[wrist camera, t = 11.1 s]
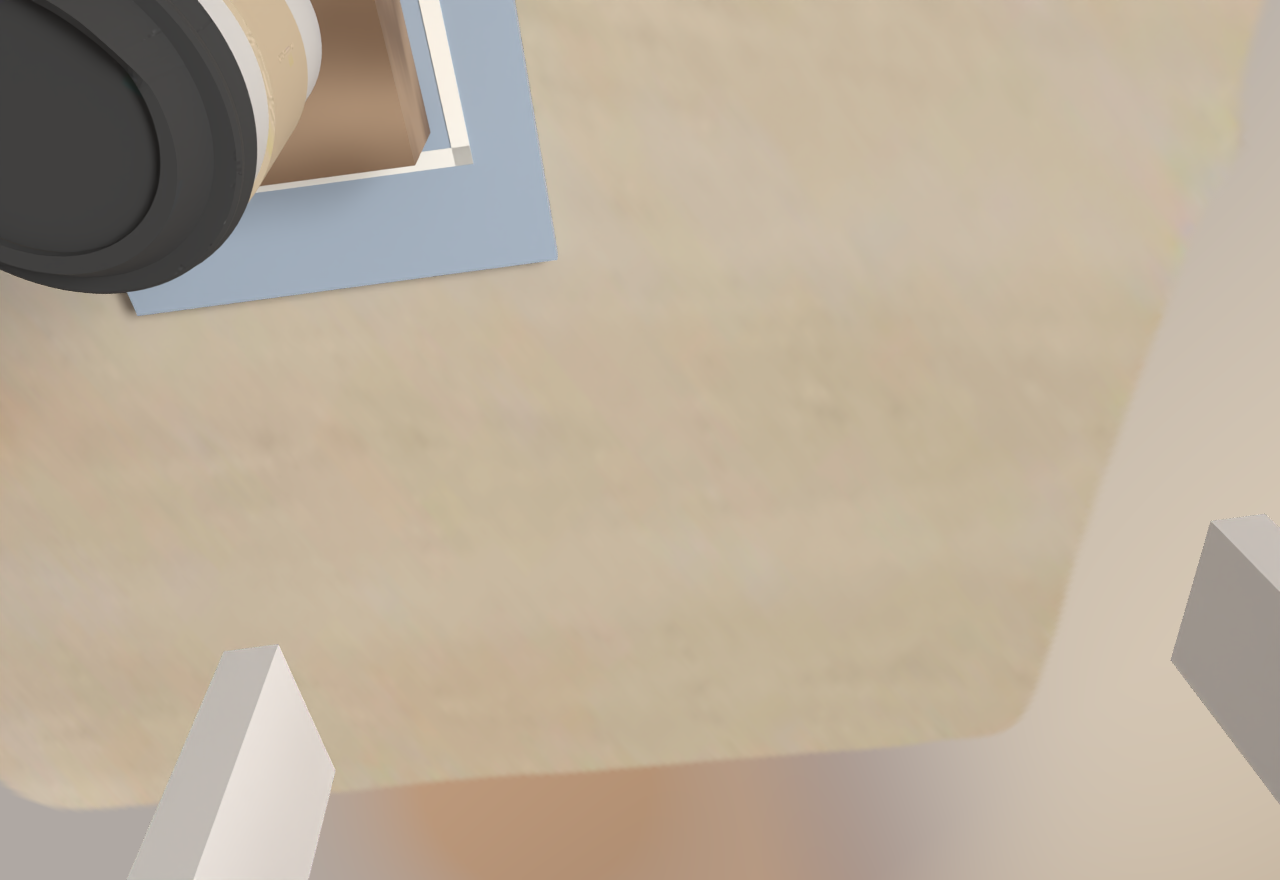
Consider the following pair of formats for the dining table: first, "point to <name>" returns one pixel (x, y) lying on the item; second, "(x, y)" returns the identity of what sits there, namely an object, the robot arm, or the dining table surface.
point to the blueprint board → (403, 184)
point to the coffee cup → (141, 130)
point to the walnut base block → (357, 97)
